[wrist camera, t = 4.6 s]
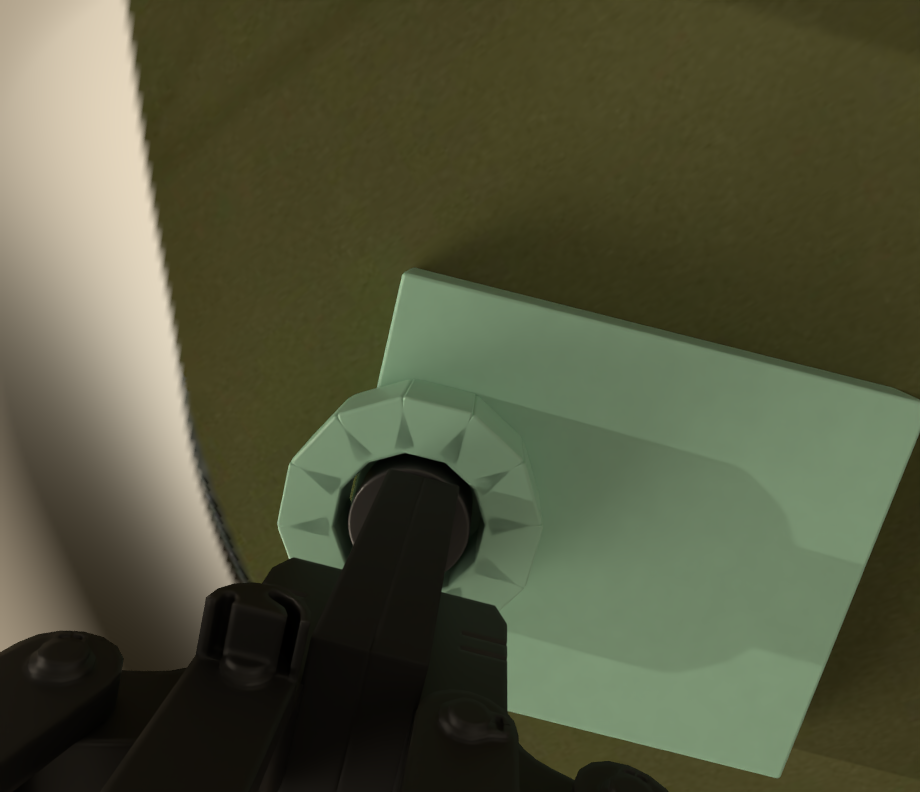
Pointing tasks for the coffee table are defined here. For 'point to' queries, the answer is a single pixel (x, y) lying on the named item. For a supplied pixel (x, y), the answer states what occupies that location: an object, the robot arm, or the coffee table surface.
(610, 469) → the scale
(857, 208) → the coffee table surface
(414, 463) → the tare button
